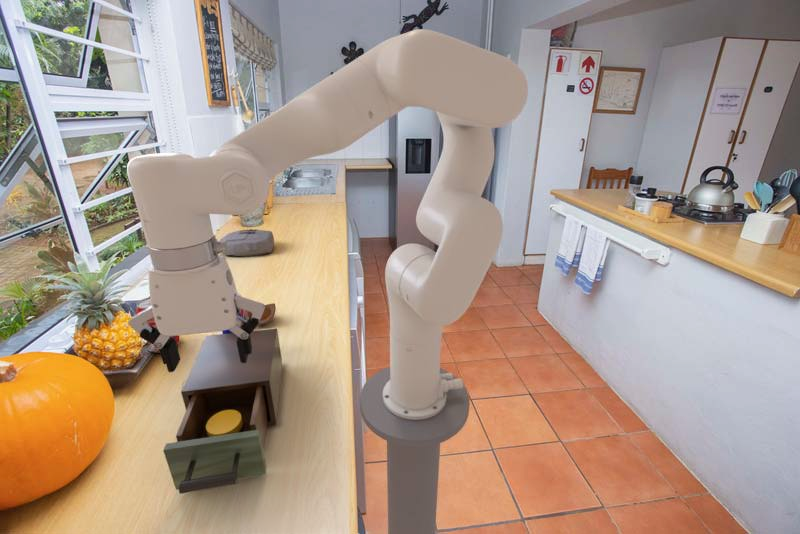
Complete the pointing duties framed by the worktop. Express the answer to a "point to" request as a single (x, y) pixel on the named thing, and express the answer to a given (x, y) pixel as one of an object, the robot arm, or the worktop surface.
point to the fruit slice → (264, 314)
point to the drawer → (219, 441)
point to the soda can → (144, 305)
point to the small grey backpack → (249, 242)
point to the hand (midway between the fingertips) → (210, 361)
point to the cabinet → (238, 368)
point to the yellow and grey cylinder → (225, 423)
